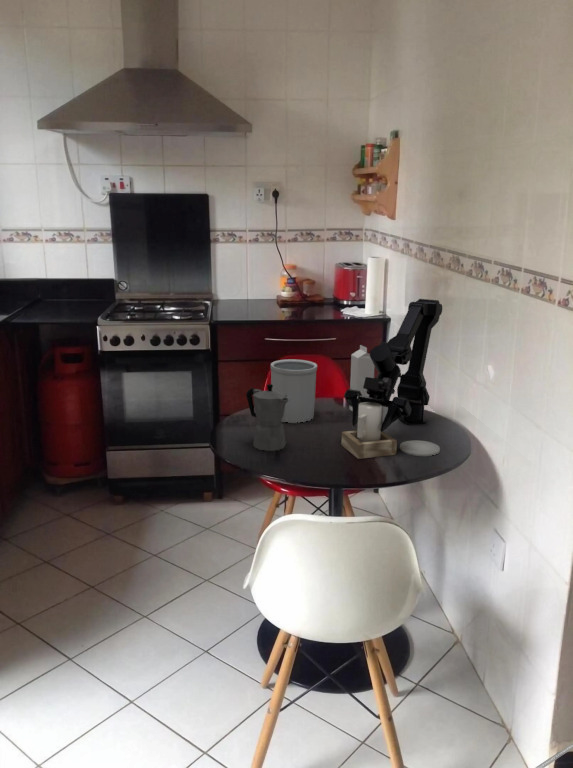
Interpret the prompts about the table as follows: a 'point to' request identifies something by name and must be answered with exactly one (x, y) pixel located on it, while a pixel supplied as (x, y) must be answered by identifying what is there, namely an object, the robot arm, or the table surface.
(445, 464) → the table surface
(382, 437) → the stand
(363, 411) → the jug
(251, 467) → the table surface
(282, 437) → the coffeepot
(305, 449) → the table surface
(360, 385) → the milk
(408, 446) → the mat
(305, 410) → the utensil holder
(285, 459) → the table surface
